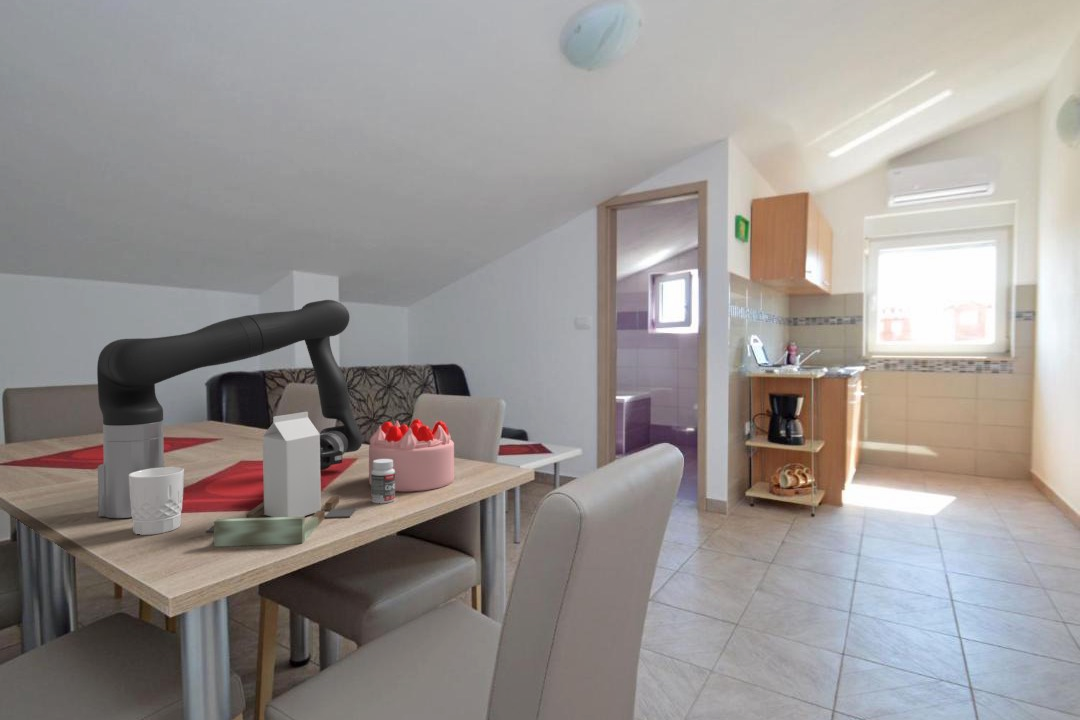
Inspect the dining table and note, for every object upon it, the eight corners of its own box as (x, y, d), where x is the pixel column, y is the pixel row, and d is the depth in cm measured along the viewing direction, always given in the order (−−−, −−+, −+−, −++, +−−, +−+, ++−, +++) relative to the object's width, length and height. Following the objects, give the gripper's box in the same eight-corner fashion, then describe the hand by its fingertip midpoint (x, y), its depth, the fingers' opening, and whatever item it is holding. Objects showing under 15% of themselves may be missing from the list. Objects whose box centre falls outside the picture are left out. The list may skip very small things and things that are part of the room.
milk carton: (321, 511, 104) (319, 413, 103) (287, 522, 98) (285, 418, 97) (297, 504, 107) (295, 410, 106) (263, 515, 101) (261, 415, 100)
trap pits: (204, 535, 91) (204, 533, 91) (209, 524, 97) (209, 522, 97) (358, 516, 102) (358, 514, 102) (354, 507, 107) (354, 506, 107)
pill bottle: (388, 504, 110) (388, 463, 109) (366, 503, 111) (366, 462, 110) (399, 498, 114) (399, 458, 114) (378, 497, 115) (378, 457, 115)
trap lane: (214, 546, 86) (214, 521, 86) (270, 504, 109) (269, 484, 109) (302, 543, 88) (302, 518, 87) (338, 502, 111) (338, 483, 111)
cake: (392, 497, 115) (392, 431, 115) (354, 480, 130) (354, 421, 130) (469, 483, 128) (469, 423, 127) (427, 469, 143) (427, 415, 142)
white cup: (152, 521, 98) (151, 466, 98) (194, 522, 98) (194, 467, 98) (117, 536, 90) (116, 476, 90) (163, 537, 90) (162, 477, 90)
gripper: (293, 434, 123) (263, 447, 106) (353, 433, 125) (334, 446, 108) (293, 467, 123) (264, 485, 106) (353, 466, 125) (334, 484, 108)
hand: (299, 466), depth 107 cm, fingers closed
